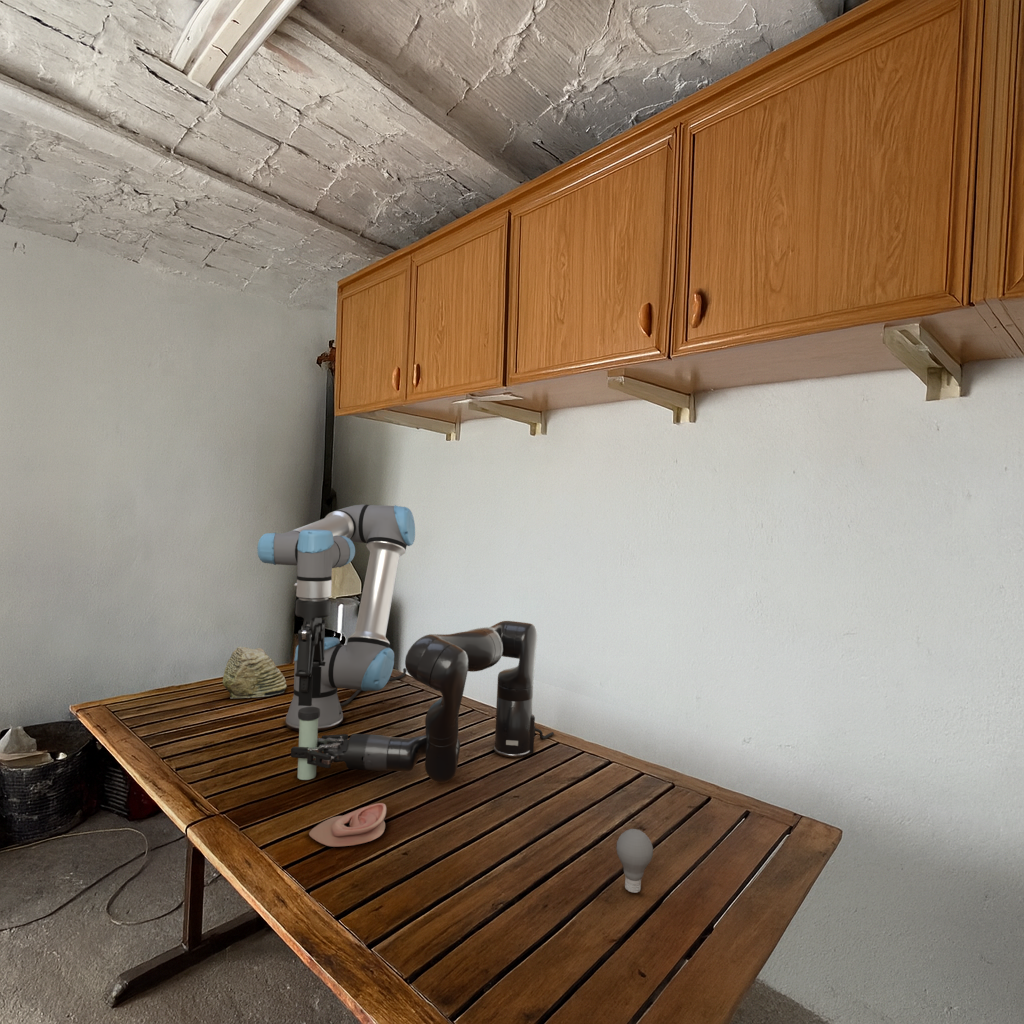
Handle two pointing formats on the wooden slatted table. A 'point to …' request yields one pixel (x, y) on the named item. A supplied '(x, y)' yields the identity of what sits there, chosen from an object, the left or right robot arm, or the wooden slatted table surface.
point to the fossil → (252, 674)
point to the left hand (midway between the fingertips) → (309, 699)
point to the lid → (309, 713)
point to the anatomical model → (352, 827)
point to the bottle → (307, 739)
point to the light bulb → (634, 857)
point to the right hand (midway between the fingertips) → (295, 747)
